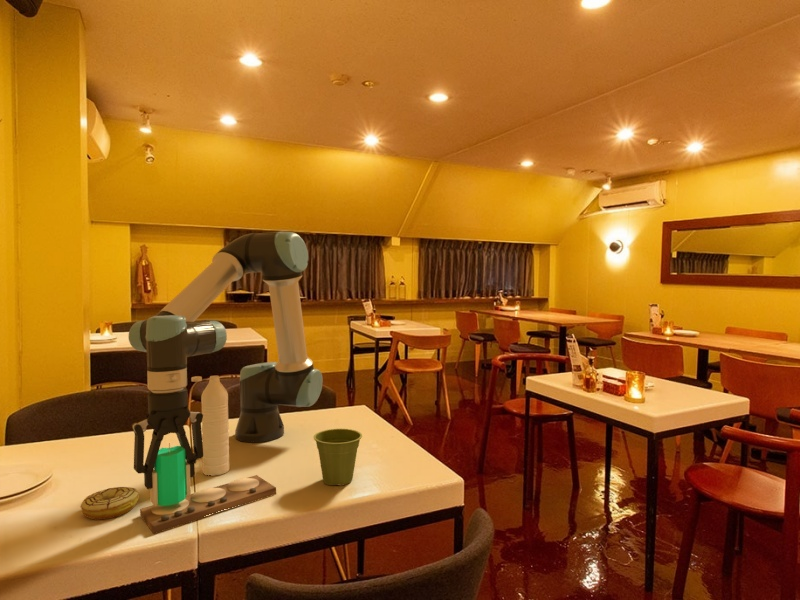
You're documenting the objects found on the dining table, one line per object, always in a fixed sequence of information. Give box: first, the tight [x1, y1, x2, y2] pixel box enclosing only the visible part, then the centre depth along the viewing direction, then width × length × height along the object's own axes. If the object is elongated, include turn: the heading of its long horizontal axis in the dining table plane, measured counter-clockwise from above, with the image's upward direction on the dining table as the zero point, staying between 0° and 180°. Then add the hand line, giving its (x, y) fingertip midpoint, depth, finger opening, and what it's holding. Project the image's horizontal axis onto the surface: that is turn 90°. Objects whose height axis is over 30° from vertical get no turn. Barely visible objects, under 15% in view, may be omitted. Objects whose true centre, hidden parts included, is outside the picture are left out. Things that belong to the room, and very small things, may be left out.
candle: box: [154, 443, 186, 506], centre depth 101 cm, size 6×6×12 cm
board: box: [139, 475, 277, 535], centre depth 105 cm, size 10×26×2 cm, turn 132°
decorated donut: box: [79, 486, 140, 520], centre depth 103 cm, size 10×11×4 cm
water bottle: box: [190, 375, 230, 477], centre depth 123 cm, size 9×6×25 cm
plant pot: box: [313, 428, 363, 486], centre depth 118 cm, size 12×12×11 cm
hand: (170, 497), depth 101 cm, fingers closed on candle, 6 cm apart
